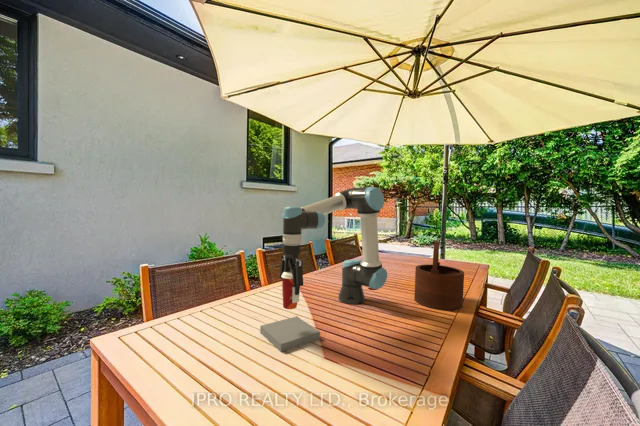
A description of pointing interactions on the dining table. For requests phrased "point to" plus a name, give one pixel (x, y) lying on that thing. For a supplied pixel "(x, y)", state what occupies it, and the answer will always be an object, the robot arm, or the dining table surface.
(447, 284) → the wooden bucket
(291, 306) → the paper cup
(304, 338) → the slate tile
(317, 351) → the dining table surface
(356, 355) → the dining table surface
